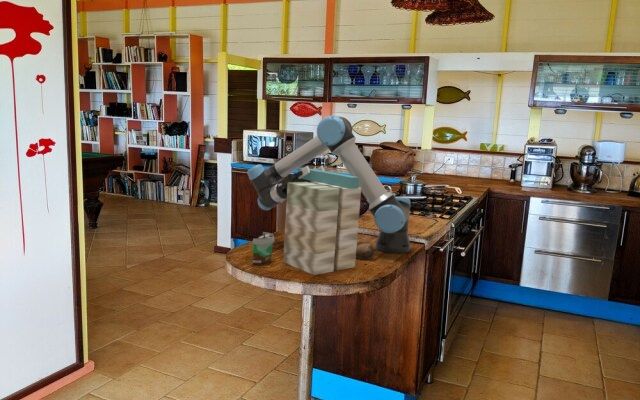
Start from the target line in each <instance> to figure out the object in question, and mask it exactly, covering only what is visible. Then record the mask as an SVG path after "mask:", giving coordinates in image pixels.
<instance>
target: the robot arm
mask: <svg viewBox="0 0 640 400" xmlns="http://www.w3.org/2000/svg"><path fill="white" fill-rule="evenodd" d="M328 150H329V151H330V153H331V154H332V155H335V156H337V157H338V158H339V160H340V161H341V162H342V165H343V166H344V167H345V169H346V170H347V172H348V174H349V176H355V177H359V187H360V188H361V194H362V195H363V196H364V198H365V199H366V200H367V202H368V203H369V204H368V205H369V207H368V210H369V212H370V214H371V215H372V216H373V220H374V224H375V227H377V229H378V230H379V233H378V236H377V238H376V240H375V247H374V249H376V250H379V251H381V252H384V253H392V254H405V253H409V252H410V251H411V242H410V238H409V233H408V231H409V221H410V212H411V211H410V210H411V200H410V198H407V197H402V196H401V197H400V196H395V195H394V194H393V193H392V192H388V191H387V190H386V187H384V185H383V184H382V182H381V181H380V179H379V178H378V176H377V174H376V173H375V172H374V170H373V168H372V167H371V166H370V164H369V162H368V161H367V160H366V158H365V156H364V155H363V154H362V152H361V151H360V149H359V148H358V146H357V145H356V136H355V135H354V133H353V126H352V124H351V122H350V121H349V120H348V119H347V118H346V117H343V116H336V115H328V116H326V117H323V119H321V120H320V122H318V125H317V128H316V135H315V137H313V138H312V139H310V140H308V141H307V142H306V143H304V144H303V145H301V146H299V147H298V148H296V149H295V150H293V151H292V152H291V153H289V154H287V155H286V156H284V157H283V158H281V159H280V160H278V161H276V162H275V163H274V164H272V165H271V166H269V167H268V168H264V167H263V165H262V164H257V165H253V166H252V167H251V168H249V169H248V170H247V172H246V174H247V176H248V178H249V180H250V182H251V183H252V186H253V187H254V189H255V191H256V192H257V195H258V197H257V205H258V207H259V208H260V209H261V210H263V211H271V209H273V208H275V207H277V206H278V205H279V204H283V202H284V201H285V200H286V201H287V186H288V183H293V182H309V183H311V182H315V181H310V180H305V179H301V178H302V177H304V176H305V175H307V174H308V173H310V170H309V165H306V166H305V167H303V166H304V165H305V164H307V163H309V162H310V161H312V160H313V159H315V158H317V157H318V156H321V154H323V153H324V152H326V151H328ZM298 168H303V169H301V170H300V171H299V172H298V171H297V170H298ZM315 170H321V171H325V169H324V165H320V166H319V167H317V168H315ZM295 171H297V172H295ZM293 172H295V173H293ZM292 173H293V174H292Z"/></svg>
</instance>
